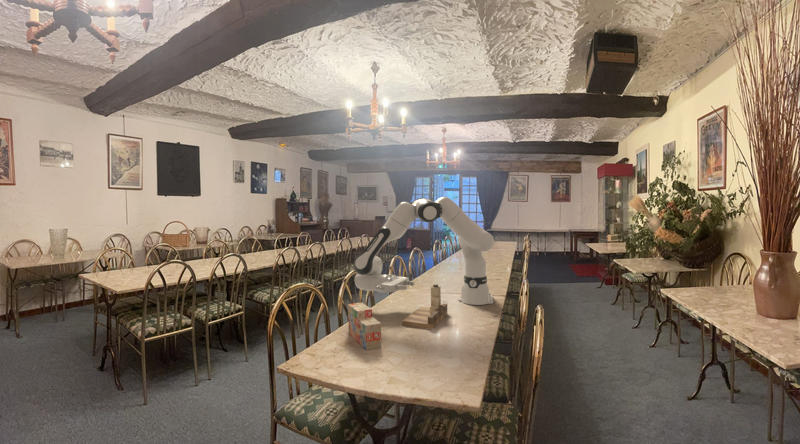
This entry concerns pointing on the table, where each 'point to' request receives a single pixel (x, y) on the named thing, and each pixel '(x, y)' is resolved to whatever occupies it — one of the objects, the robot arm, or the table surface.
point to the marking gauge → (435, 297)
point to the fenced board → (425, 317)
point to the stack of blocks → (364, 326)
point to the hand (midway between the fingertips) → (410, 285)
